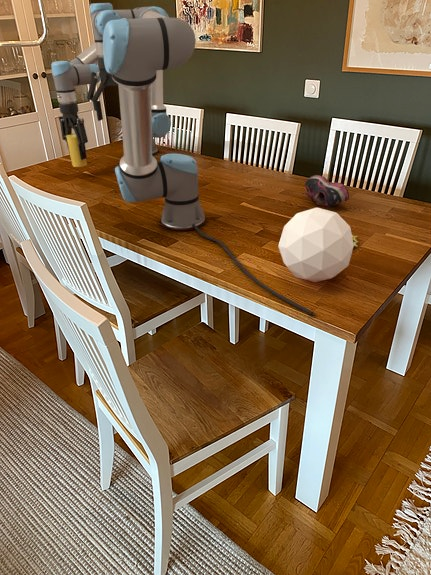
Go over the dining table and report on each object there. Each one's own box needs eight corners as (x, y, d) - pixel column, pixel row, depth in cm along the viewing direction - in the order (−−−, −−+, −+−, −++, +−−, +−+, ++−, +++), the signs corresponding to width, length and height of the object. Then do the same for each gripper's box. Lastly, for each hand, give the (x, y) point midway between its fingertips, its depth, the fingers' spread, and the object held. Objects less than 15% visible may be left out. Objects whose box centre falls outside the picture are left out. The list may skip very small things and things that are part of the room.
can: (89, 163, 201) (84, 133, 194) (81, 167, 196) (75, 137, 189) (77, 162, 203) (72, 133, 196) (69, 166, 197) (63, 136, 190)
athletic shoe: (314, 174, 176) (289, 181, 172) (350, 168, 156) (323, 177, 152) (319, 202, 179) (295, 210, 175) (356, 200, 159) (329, 209, 155)
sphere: (322, 305, 122) (338, 279, 104) (262, 266, 127) (267, 235, 108) (357, 254, 127) (378, 220, 109) (298, 218, 132) (308, 180, 113)
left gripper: (45, 102, 187) (57, 156, 200) (76, 106, 178) (86, 163, 190) (59, 99, 192) (70, 152, 205) (90, 103, 183) (99, 158, 195)
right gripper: (145, 54, 153) (152, 119, 164) (80, 55, 158) (91, 117, 170) (137, 57, 147) (144, 123, 158) (70, 57, 152) (81, 121, 164)
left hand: (78, 157), depth 197 cm, fingers closed on can, 6 cm apart
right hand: (117, 120), depth 164 cm, fingers open, 13 cm apart
